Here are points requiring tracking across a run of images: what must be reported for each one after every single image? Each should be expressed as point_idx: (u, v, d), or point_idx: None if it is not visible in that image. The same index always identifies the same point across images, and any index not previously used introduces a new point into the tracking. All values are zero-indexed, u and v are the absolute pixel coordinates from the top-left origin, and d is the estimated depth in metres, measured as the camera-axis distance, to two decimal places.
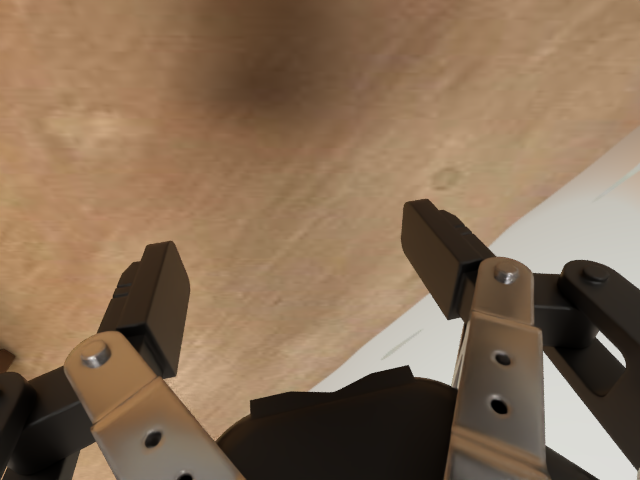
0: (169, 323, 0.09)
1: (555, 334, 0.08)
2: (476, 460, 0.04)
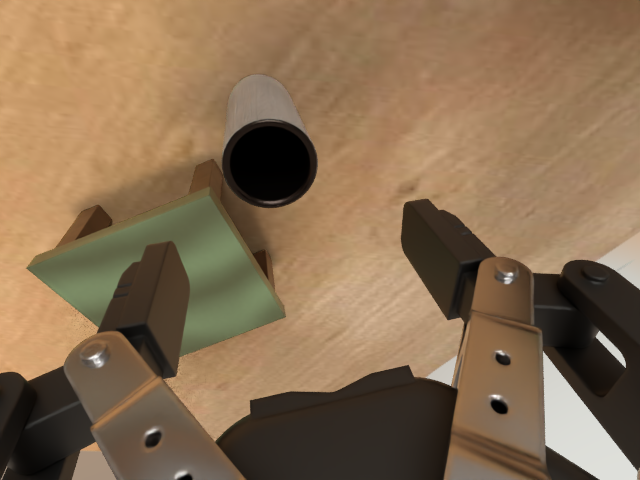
0: (169, 323, 0.09)
1: (555, 334, 0.08)
2: (476, 460, 0.04)
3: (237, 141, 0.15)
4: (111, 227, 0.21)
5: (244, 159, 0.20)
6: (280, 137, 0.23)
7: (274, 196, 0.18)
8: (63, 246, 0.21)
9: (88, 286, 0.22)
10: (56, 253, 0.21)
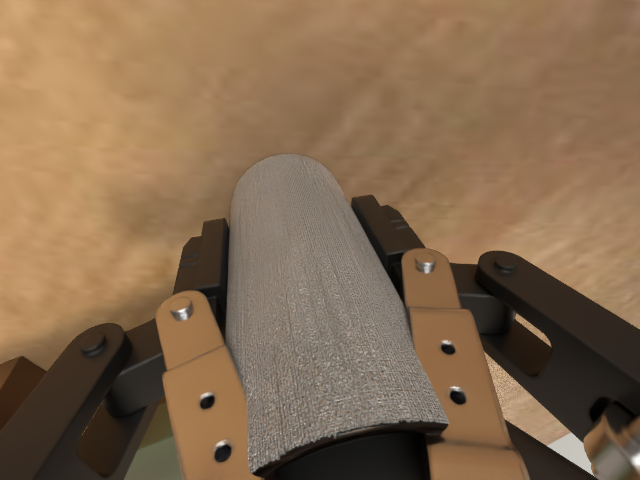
0: None
1: None
2: (476, 460, 0.04)
3: None
4: None
5: None
6: None
7: None
8: None
9: None
10: None
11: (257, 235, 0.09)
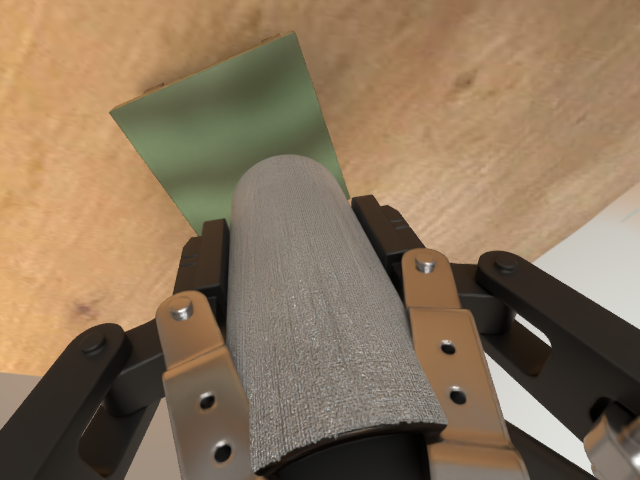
0: None
1: None
2: (476, 460, 0.04)
3: None
4: (192, 73, 0.21)
5: None
6: None
7: None
8: (143, 94, 0.21)
9: (165, 141, 0.22)
10: (138, 98, 0.20)
11: (257, 236, 0.09)
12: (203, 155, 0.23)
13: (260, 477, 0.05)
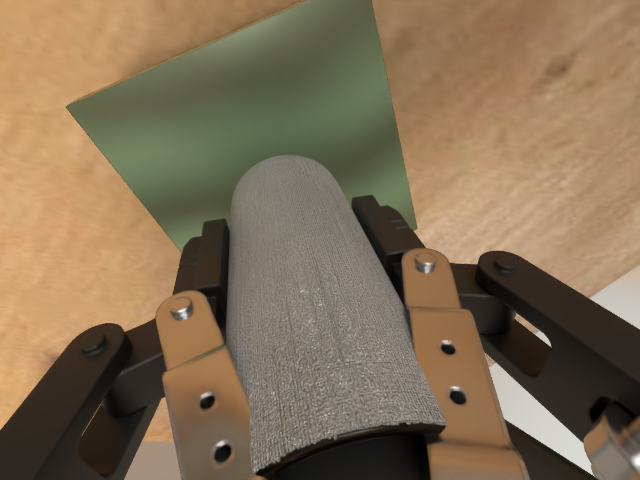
0: None
1: None
2: (476, 460, 0.04)
3: None
4: (199, 46, 0.13)
5: None
6: None
7: None
8: (122, 79, 0.13)
9: (157, 152, 0.14)
10: (113, 84, 0.13)
11: (257, 236, 0.09)
12: (214, 172, 0.15)
13: (260, 477, 0.05)
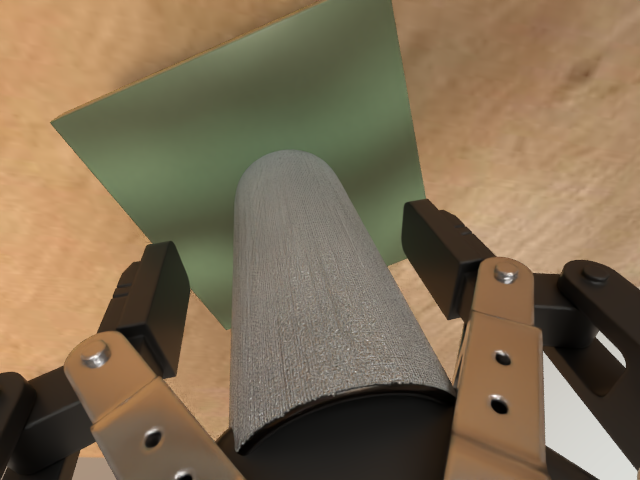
0: (169, 322, 0.09)
1: (555, 334, 0.08)
2: (476, 460, 0.04)
3: None
4: (199, 53, 0.12)
5: None
6: None
7: None
8: (113, 91, 0.12)
9: (152, 170, 0.13)
10: (103, 97, 0.11)
11: (261, 224, 0.09)
12: (216, 191, 0.14)
13: None
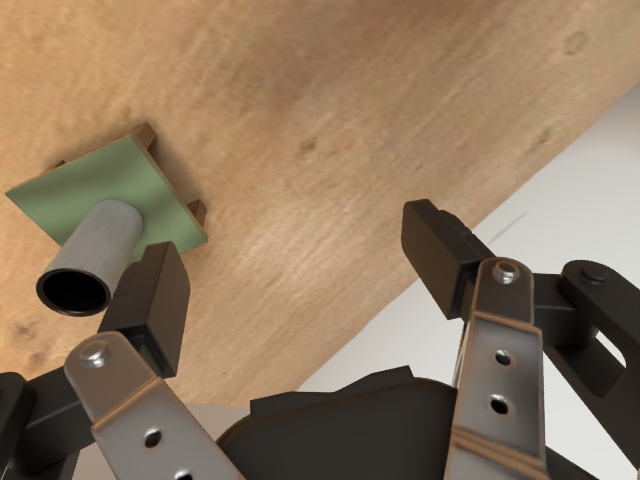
0: (169, 323, 0.09)
1: (555, 334, 0.08)
2: (476, 460, 0.04)
3: (43, 281, 0.23)
4: (64, 164, 0.29)
5: (82, 273, 0.27)
6: None
7: (88, 307, 0.25)
8: (31, 179, 0.30)
9: (49, 210, 0.30)
10: (25, 183, 0.29)
11: (74, 232, 0.27)
12: (81, 217, 0.31)
13: None
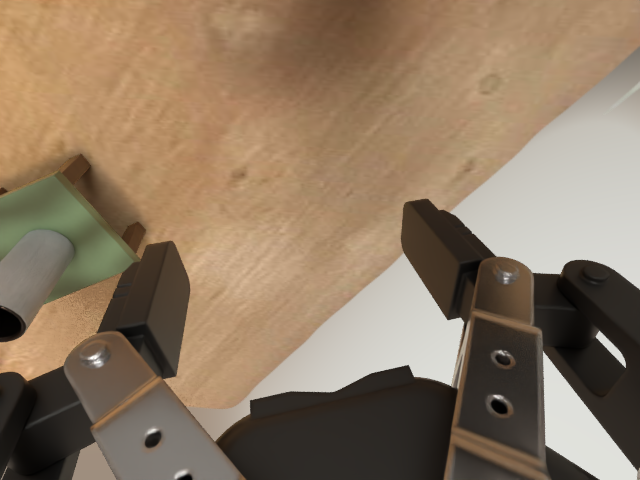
0: (169, 322, 0.09)
1: (555, 334, 0.08)
2: (476, 460, 0.04)
3: None
4: None
5: None
6: None
7: (7, 333, 0.28)
8: None
9: None
10: None
11: None
12: (14, 245, 0.34)
13: None
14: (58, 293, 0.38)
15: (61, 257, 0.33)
